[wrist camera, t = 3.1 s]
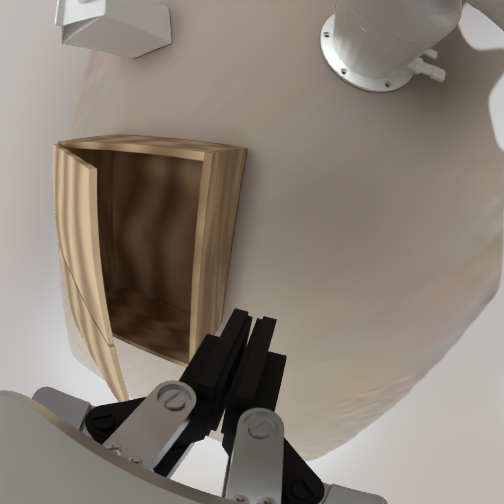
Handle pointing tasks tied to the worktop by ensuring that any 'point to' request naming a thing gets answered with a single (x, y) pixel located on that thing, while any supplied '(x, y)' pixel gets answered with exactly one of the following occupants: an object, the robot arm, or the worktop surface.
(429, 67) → the robot arm
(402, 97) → the worktop surface
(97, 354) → the flap
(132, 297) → the carton
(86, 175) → the flap
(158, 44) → the milk carton
